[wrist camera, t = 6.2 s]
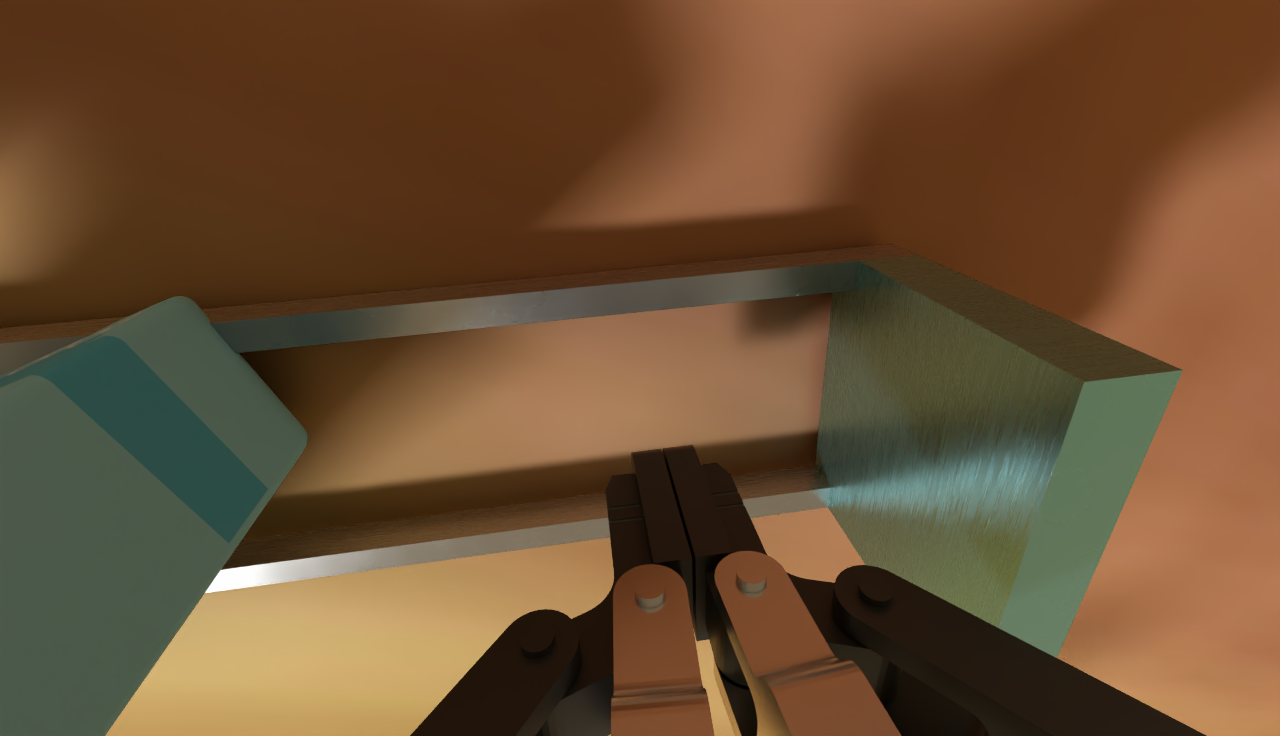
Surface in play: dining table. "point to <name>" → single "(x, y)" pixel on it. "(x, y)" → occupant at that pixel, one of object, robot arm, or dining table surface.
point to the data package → (122, 506)
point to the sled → (848, 428)
